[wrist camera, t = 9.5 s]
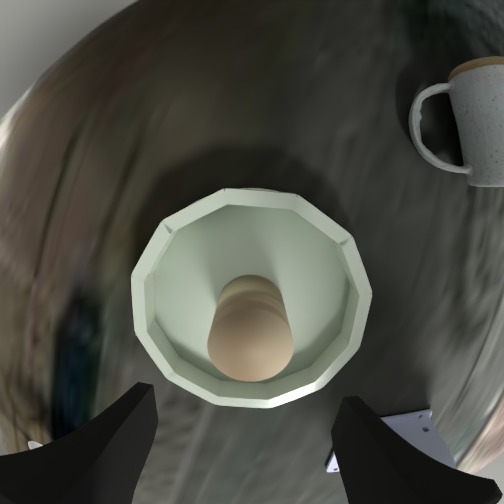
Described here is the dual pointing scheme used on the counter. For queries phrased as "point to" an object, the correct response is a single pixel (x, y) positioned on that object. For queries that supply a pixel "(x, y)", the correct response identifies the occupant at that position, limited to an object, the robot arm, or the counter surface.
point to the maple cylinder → (250, 330)
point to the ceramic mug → (471, 120)
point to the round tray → (250, 263)
